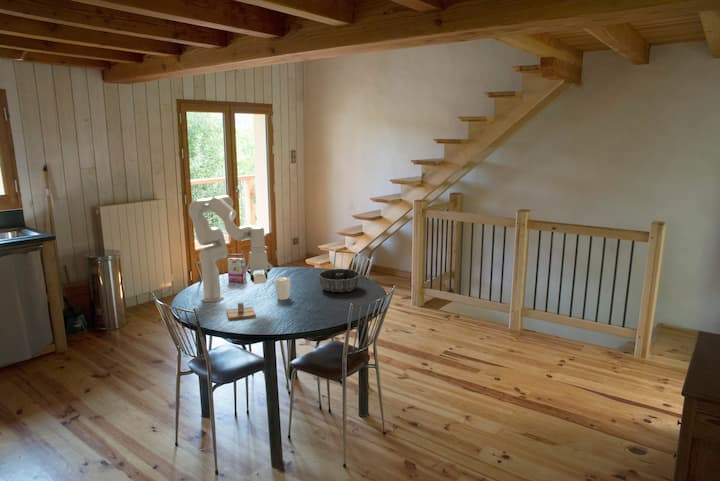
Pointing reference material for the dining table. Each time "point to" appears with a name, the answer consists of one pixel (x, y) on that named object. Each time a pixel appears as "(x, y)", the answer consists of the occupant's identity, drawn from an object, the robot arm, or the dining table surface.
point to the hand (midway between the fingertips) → (259, 280)
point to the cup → (282, 287)
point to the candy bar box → (236, 270)
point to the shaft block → (241, 312)
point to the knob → (259, 278)
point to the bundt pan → (339, 280)
